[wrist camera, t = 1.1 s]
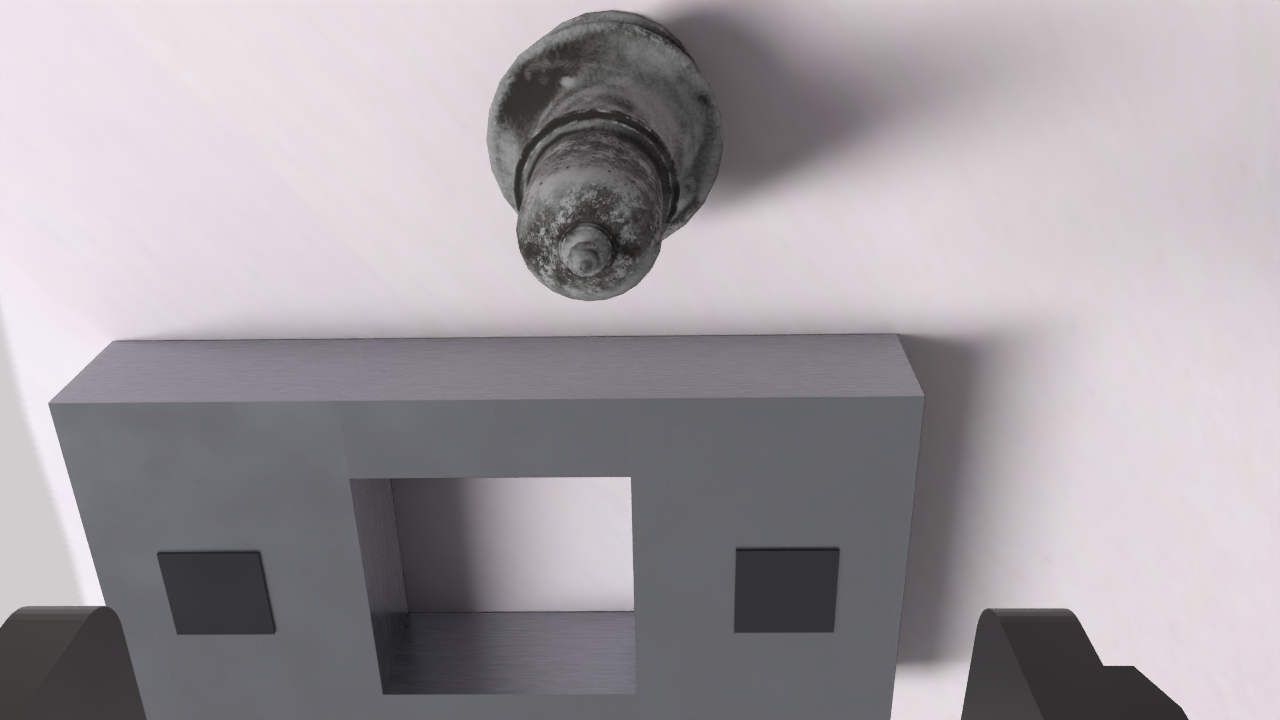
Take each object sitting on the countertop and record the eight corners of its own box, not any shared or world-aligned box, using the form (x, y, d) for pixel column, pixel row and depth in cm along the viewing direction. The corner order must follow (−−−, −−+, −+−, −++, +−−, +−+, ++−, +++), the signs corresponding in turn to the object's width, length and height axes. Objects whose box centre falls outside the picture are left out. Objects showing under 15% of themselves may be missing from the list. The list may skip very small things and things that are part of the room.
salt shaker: (711, 213, 32) (737, 414, 21) (508, 208, 32) (431, 406, 21) (722, 1, 30) (757, 109, 19) (500, -4, 30) (409, 100, 19)
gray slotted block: (896, 333, 34) (925, 397, 30) (865, 667, 39) (887, 755, 36) (112, 341, 34) (46, 405, 31) (194, 669, 40) (147, 755, 36)
